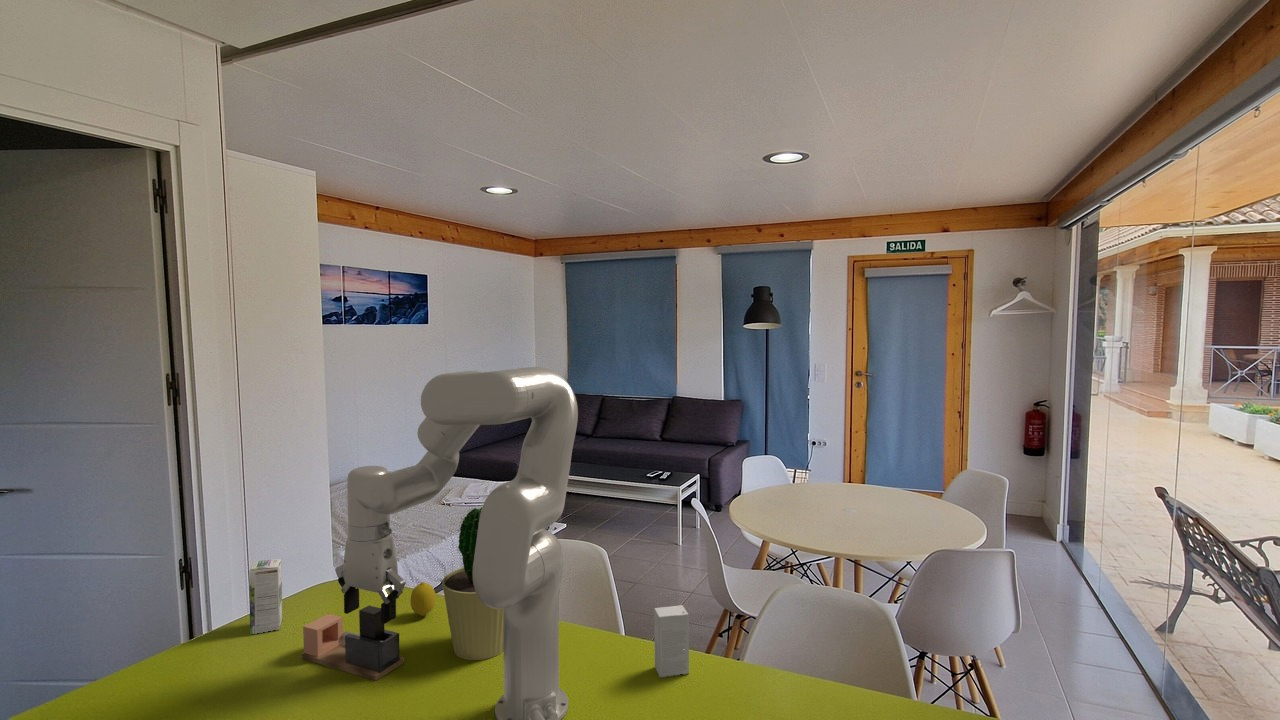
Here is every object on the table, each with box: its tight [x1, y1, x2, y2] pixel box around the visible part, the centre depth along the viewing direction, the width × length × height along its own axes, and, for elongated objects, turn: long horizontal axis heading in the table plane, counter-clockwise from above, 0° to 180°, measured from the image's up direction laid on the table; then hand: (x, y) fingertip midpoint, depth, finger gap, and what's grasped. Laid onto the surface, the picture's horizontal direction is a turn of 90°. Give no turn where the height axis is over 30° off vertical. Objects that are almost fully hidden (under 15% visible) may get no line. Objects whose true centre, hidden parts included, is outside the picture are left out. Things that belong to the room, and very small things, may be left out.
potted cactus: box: [441, 506, 504, 661], centre depth 130 cm, size 15×15×30 cm
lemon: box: [409, 581, 437, 617], centre depth 145 cm, size 6×6×8 cm
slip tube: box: [338, 605, 385, 648], centre depth 124 cm, size 11×3×9 cm, turn 67°
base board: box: [301, 645, 404, 681], centre depth 126 cm, size 20×7×1 cm, turn 67°
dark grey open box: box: [345, 628, 401, 673], centre depth 123 cm, size 9×5×6 cm, turn 67°
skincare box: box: [653, 604, 690, 678], centre depth 122 cm, size 6×4×12 cm
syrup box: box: [248, 558, 283, 636], centre depth 139 cm, size 6×6×14 cm
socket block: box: [302, 613, 344, 657], centre depth 129 cm, size 4×6×6 cm, turn 157°
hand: (370, 615), depth 123 cm, fingers open, 9 cm apart
